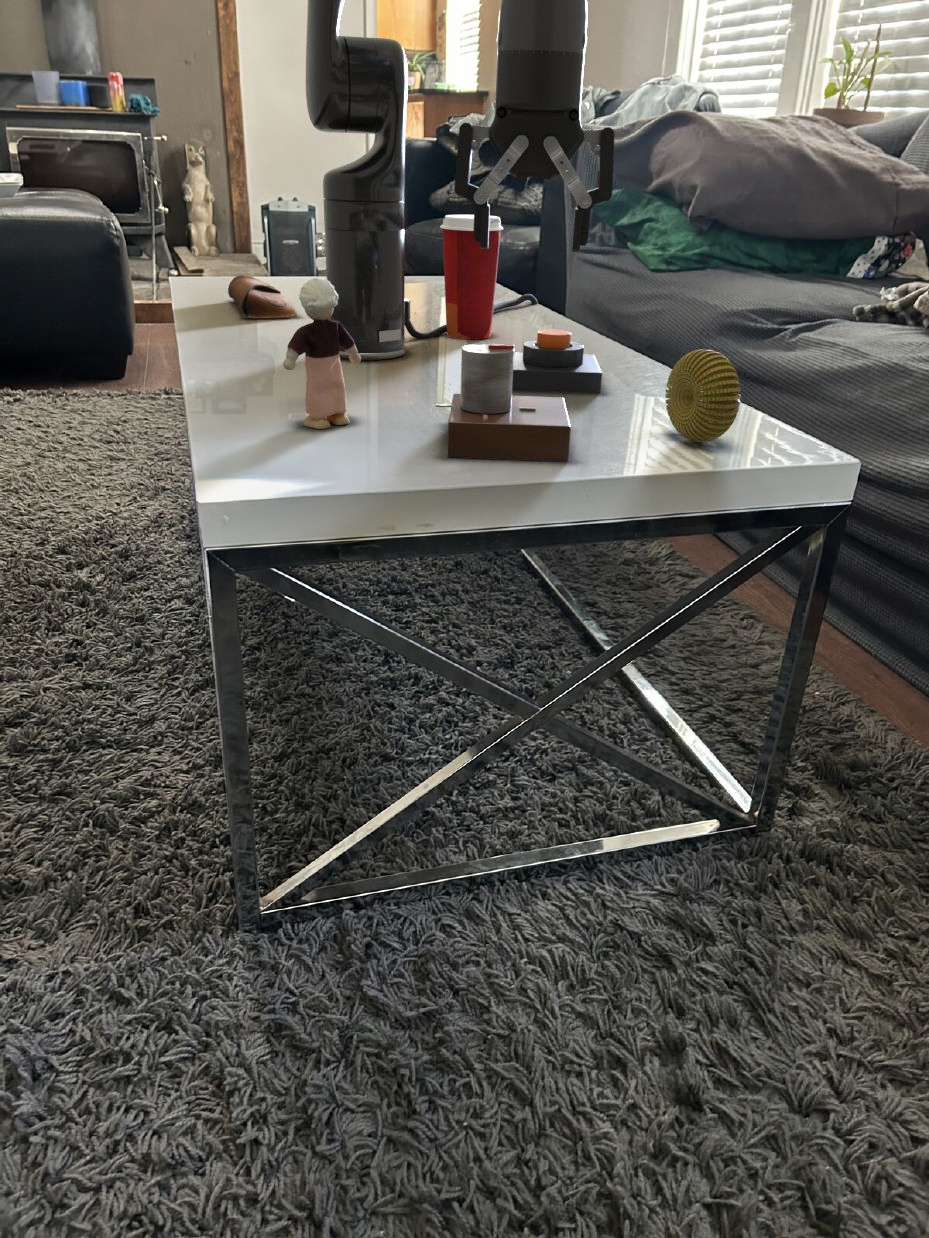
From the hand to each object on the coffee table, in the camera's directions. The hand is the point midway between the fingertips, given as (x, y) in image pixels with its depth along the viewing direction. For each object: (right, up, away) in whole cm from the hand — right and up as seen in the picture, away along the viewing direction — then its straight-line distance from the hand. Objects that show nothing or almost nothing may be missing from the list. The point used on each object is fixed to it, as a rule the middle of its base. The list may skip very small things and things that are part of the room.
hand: (529, 249), depth 90 cm
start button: (+4, -5, +15) cm, 16 cm away
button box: (+3, -8, +16) cm, 19 cm away
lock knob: (-4, -16, -7) cm, 19 cm away
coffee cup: (-6, +4, +41) cm, 41 cm away
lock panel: (-2, -19, -6) cm, 20 cm away
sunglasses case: (-37, +12, +56) cm, 68 cm away
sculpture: (+15, -19, -4) cm, 24 cm away
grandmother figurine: (-19, -17, -2) cm, 26 cm away
